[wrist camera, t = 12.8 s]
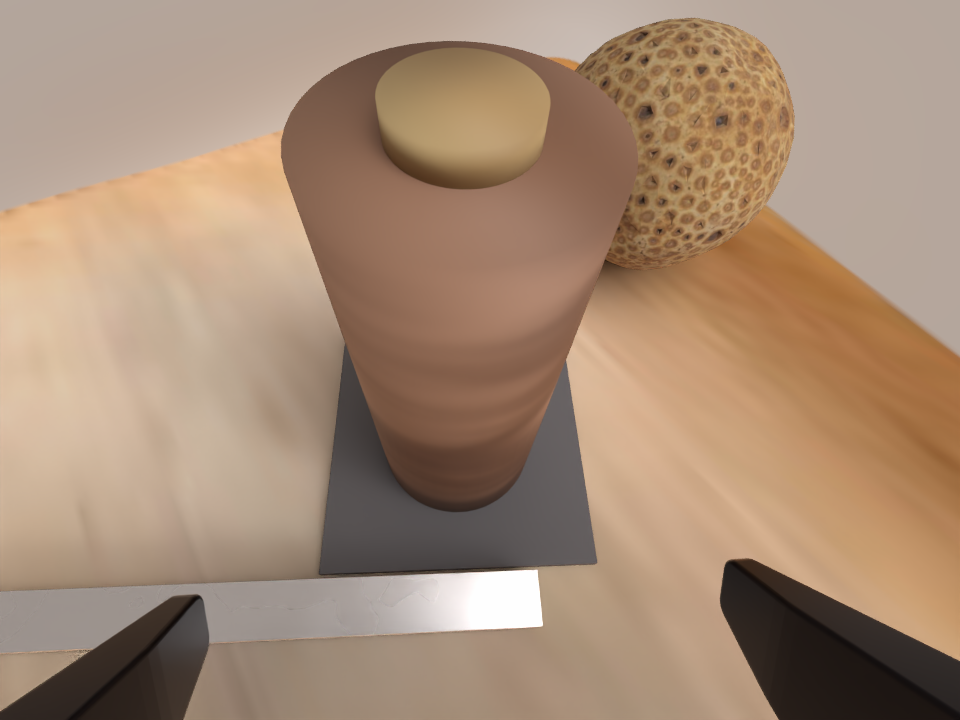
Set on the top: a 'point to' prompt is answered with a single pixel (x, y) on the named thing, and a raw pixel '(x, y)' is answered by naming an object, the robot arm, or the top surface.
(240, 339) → the top surface
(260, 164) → the top surface
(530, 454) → the grey square plate
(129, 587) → the steel straightedge
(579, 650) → the top surface
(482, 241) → the brown thread spool
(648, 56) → the natural sponge
